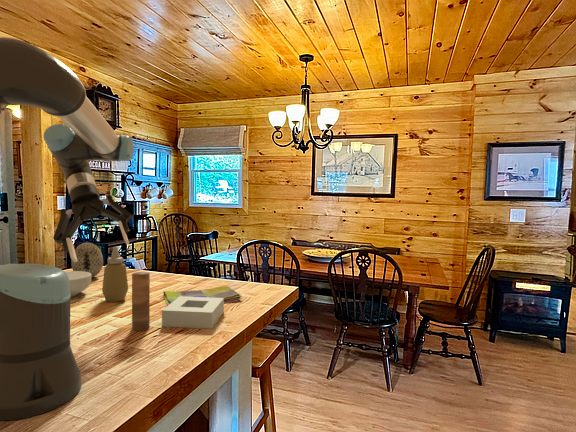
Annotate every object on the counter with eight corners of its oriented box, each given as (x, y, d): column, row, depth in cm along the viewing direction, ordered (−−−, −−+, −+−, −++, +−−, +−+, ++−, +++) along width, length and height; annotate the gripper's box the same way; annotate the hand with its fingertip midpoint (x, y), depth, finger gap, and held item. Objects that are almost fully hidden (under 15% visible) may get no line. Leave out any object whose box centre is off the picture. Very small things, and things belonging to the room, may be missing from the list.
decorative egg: (71, 282, 147) (70, 245, 146) (71, 276, 157) (71, 241, 156) (103, 279, 152) (103, 243, 151) (102, 274, 163) (102, 240, 162)
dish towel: (162, 296, 132) (162, 289, 132) (228, 290, 143) (228, 283, 143) (169, 311, 117) (169, 302, 116) (243, 302, 127) (243, 295, 127)
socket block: (211, 328, 101) (212, 312, 101) (161, 326, 102) (161, 310, 102) (223, 312, 115) (223, 298, 115) (179, 310, 116) (179, 296, 116)
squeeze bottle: (118, 304, 120) (118, 249, 119) (96, 302, 122) (96, 248, 121) (133, 297, 128) (133, 246, 127) (112, 295, 130) (112, 245, 129)
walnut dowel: (145, 331, 98) (145, 275, 97) (129, 330, 98) (128, 275, 97) (152, 325, 102) (152, 272, 101) (136, 325, 103) (136, 271, 102)
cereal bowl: (101, 290, 137) (101, 271, 136) (70, 303, 120) (70, 282, 120) (58, 288, 138) (58, 269, 138) (22, 300, 122) (22, 279, 121)
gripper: (129, 186, 117) (149, 240, 108) (42, 212, 109) (56, 273, 100) (123, 171, 111) (144, 228, 102) (30, 197, 102) (44, 262, 93)
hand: (101, 250), depth 101 cm, fingers open, 13 cm apart
